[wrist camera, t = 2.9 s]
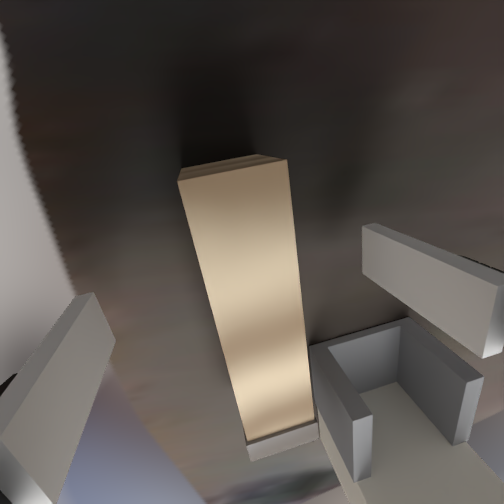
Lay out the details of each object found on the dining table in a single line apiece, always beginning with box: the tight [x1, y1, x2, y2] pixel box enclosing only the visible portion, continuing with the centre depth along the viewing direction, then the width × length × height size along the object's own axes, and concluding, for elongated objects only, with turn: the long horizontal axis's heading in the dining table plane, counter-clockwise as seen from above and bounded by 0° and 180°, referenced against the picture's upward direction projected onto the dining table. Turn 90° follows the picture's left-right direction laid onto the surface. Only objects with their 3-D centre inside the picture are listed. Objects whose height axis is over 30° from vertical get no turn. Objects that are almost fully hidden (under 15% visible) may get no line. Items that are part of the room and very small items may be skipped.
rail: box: [177, 154, 319, 462], centre depth 15 cm, size 16×4×5 cm, turn 9°
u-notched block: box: [309, 317, 504, 504], centre depth 16 cm, size 11×9×15 cm
